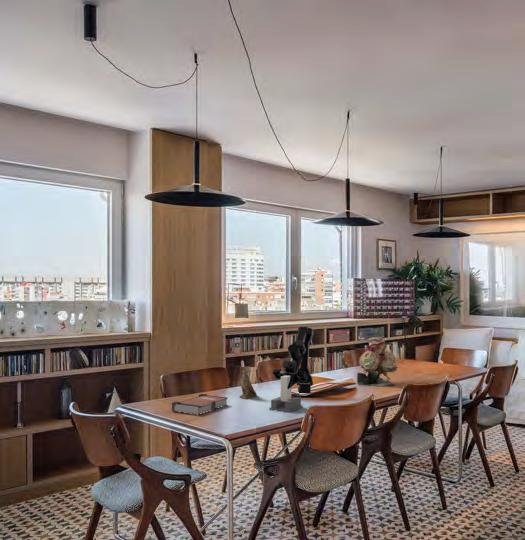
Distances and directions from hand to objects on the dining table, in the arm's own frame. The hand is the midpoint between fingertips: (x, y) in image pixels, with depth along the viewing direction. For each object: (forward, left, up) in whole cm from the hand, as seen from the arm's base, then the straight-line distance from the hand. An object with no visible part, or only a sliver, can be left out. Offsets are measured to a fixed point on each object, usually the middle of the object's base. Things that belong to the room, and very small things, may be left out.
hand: (284, 388), depth 293 cm
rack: (-1, -1, -11) cm, 11 cm away
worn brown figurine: (+11, -35, -11) cm, 38 cm away
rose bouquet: (-79, -53, -11) cm, 95 cm away
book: (+41, -14, -11) cm, 45 cm away
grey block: (-1, -1, -7) cm, 7 cm away
